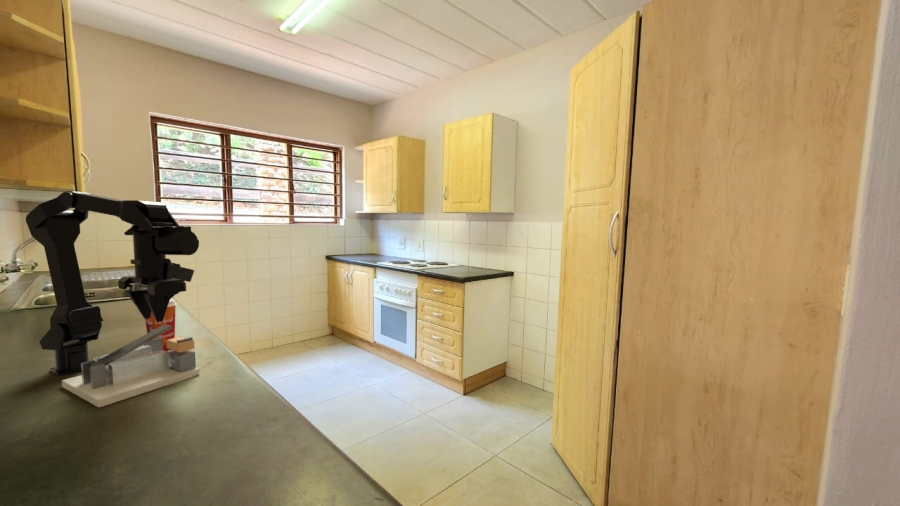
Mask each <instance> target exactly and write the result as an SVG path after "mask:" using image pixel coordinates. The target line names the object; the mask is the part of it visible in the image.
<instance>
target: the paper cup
mask: <svg viewBox="0 0 900 506" xmlns="http://www.w3.org/2000/svg"><path fill="white" fill-rule="evenodd" d="M176 306H178V303H177V301H176V300H175V299H172V298H171V299H170V301H169V304H168V306H167V309H166V312H165V316H164V319H163V321H161V322H157V321H156V320H155V318H154V316H153V314H152V311H151V317H150V318H149V319H144V320H145V329H146V334H147V333H149V332H151V331H153V330H155V329H156V328H158V327H160V326H162V325H164V324H166V325H170V326H171V327H172V329H170V330H169V331H167V332H165V333H163V334H161V335H160V336H158V337H160V338H162V347H163V350H164V351H167V350H168V351H169V350H171V349H168V348H167V340H169V339H173V338H176V337H175V336H176V333H175V332H176Z"/></svg>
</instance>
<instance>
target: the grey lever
mask: <svg viewBox="0 0 900 506" xmlns="http://www.w3.org/2000/svg"><path fill="white" fill-rule="evenodd" d="M170 329H172V327H171V326H170V325H166V324H164V325H162V326H160V327H158V328H156V329H155V330H153V331H151V332H149V333H147V332H146V334H144V335H142V336H140V337H138V338H136V339H135V340H132V341H131V342H128V343H127V344H125V345H124V346H122V347H119V348H117V350H114V351H113V352H111V353H108V354H109V355H107V354H106V355H107V356H105V357H103V358H101V359H100V360H98V361H96V362H94V363H92V364H90V365H91V367H93V366H97V365H101V364H104V365H105V366H106V365H108V364H110V363H112V362H114V361H115V360H117V359H119V358H121V357H122V356H124V355H126V354H128V353H130V352H131V351H133V350H135V349H137V348H138V347H141V346H143V345H144V344H145V343H147V342H149V341H151V340H153V339H154V338H156V337H158V336H160V335H161V334H163V333H165V332H167V331H169V330H170Z"/></svg>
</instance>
